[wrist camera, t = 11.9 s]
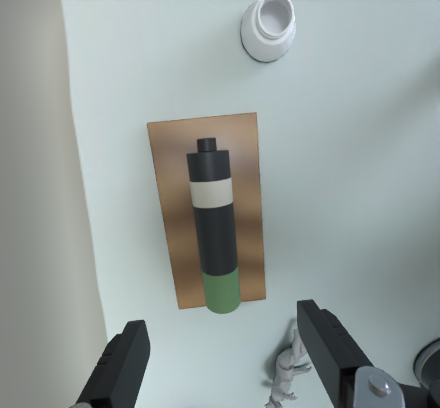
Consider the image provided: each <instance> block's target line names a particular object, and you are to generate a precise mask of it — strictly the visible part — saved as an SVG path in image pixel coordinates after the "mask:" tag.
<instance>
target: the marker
mask: <svg viewBox="0 0 440 408" xmlns="http://www.w3.org/2000/svg"><path fill="white" fill-rule="evenodd" d="M197 148H198V153H189V154H186V156H187V164H188V171H189V179H190V189H191V197H192V204H193V210H194V217H195V225H196V233H197V240H198V248H199V256H200V263H201V271H202V279H203V286H204V294H205V302H206V306H207V308H208V309H209V310H210V311H212V312H214V313H219V314H225V313H229V312H232V311H234V310H235V309H236V308H237V307H238V306H239V305H240V302H241V295H240V282H239V270H238V258H237V245H236V233H235V220H234V208H233V192H232V180H231V171H230V159H229V150H219V151H217V145H216V138H215V137H211V138H201V139H197Z"/></svg>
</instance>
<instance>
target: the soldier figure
mask: <svg viewBox="0 0 440 408" xmlns="http://www.w3.org/2000/svg"><path fill="white" fill-rule="evenodd" d="M306 352H307V350H306V348H305V346H304V344H303V342H302V340H301V338H300V335H299V331H298V329H294V339H293V343H292V348H290V349H286V350H284V351H283V352H282V353H281V354H280V355H279V356H278V357H277V360H276V373H277V374H276V376H275V377H276V378H275V377H274V379H273V385H272V389H271V396H270V397H269V402H268V403H267V404H265V405H264V406H265V407H266V408H282V407H283V406H282V405H281V404H280V402H279V401H284V400H285V399H289V400H296V399H297V397H295V396H293V394H294V393H291V394H288V392H289V389H290V385H291V382H292V381H293V376H294V375H296V374H302V373H307V372H309V371H310V370H311V369H312V367H310V368H306V365H307V364H306V365H305V366H304V367H303V368H302V369H301V368H293V364H296V363H297V362H299V360H300V358H301V357H302V356H303V355H305V354H306ZM292 396H293V397H292ZM294 397H295V398H294Z"/></svg>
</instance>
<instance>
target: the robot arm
mask: <svg viewBox="0 0 440 408" xmlns="http://www.w3.org/2000/svg"><path fill="white" fill-rule="evenodd" d="M297 326H298V331H299V335H300V338H301V340H302V342H303V344H304V346H305V348H306V350H307V352H308V354H309V357H310V359H311V361H312V363H313V365H314V367H315V369H316V371H317V373H318V375H319V377H320V379H321V381H322V383H323V385H324V387H325V389H326V391H327V394H328V396H329V398H330V400H331V402H332V404H333V406H334V408H440V340H438V341H436V342H434V343H433V344H431V345H430V346H428V347H427V348H426V349H425V350H424V351H423V352H422V353H421V354H420V356H419V357H418V359H417V361H416V364H415V375H416V377H417V379H418V380H419V381H420V382H421V387H422V388H419V387H414V386H409V385H404V384H401V383H398V382H396V381H395V380H394V379H393V378H392V377H391V376H390V375H389V374H387V373H386V372H384V371H383V370H381V369H378V368H376V367H374V366H373V364H372V363H371V362H370V360H369V359H368V358H367V356H366V355H365V354H364V353H363V351H362V350H361V349H360V347H359V346H358V345H357V343H356V342H355V341H354V340H353V338H352V337H351V336H350V335H349V334H348V332H347V330H346V329H345V328H344V327H343V326H342V324H341V323H340V321H339V320H338V319H337V317H336V316H335V315H333V314H332V313H331V312H329V311H328V310H326V309H321V310H320V309H319V307H318V306H317V305H316V303H315V302H314V300H312V299H310V300H302V301H298V302H297ZM149 356H150V341H149V337H148V332H147V328H146V324H145V321H144V320H136V321H129V322H127V324H126V326H125V328H124V330H123V332H122V334H117V335H116V336H115V337H114V338H113V339H112V340H111V341H110V342H109V343H108V344H107V346H106V348H105V350H104V352H103V354H102V357H100V359H99V361H98V363H97V366H96V367H95V369H94V370H93V372H92V374H91V376H90V378H89V380H88V382H87V384H86V385H85V387H84V389H83V391H82V393H81V395H80V396H79V398H78V400H77V402H76V404H75V405H73V406H71V407H70V408H134V406H135V403H136V400H137V396H138V393H139V390H140V386H141V383H142V380H143V376H144V373H145V370H146V366H147V363H148V360H149Z"/></svg>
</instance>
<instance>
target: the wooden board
mask: <svg viewBox="0 0 440 408" xmlns="http://www.w3.org/2000/svg"><path fill="white" fill-rule="evenodd" d="M147 127H148V133H149V139H150V145H151V150H152V156H153V162H154V168H155V174H156V180H157V185H158V191H159V197H160V203H161V209H162V214H163V220H164V226H165V232H166V238H167V243H168V249H169V255H170V261H171V267H172V272H173V278H174V284H175V290H176V296H177V301H178V307H179V309H187V308H195V307H204V306H206V302H205V294H204V286H203V279H202V271H201V263H200V256H199V248H198V240H197V233H196V225H195V217H194V210H193V204H192V197H191V189H190V179H189V171H188V164H187V156H186V154H189V153H198V148H197V139H201V138H211V137H215V138H216V145H217V151H219V150H229V159H230V171H231V180H232V192H233V208H234V220H235V233H236V245H237V258H238V270H239V282H240V295H241V302H247V301H255V300H264V299H266V292H265V272H264V252H263V232H262V212H261V192H260V172H259V152H258V132H257V113H256V112H255V113H245V114H234V115H224V116H213V117H203V118H193V119H182V120H172V121H162V122H151V123H147Z"/></svg>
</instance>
